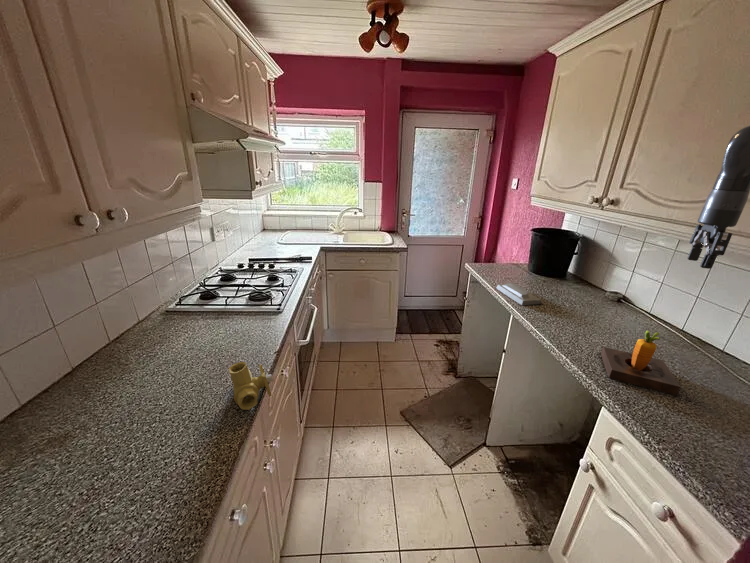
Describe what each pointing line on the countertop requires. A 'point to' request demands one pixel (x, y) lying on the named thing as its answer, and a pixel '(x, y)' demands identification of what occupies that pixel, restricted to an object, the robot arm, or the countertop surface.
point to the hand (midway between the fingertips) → (698, 263)
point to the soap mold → (518, 294)
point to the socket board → (649, 377)
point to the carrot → (644, 351)
